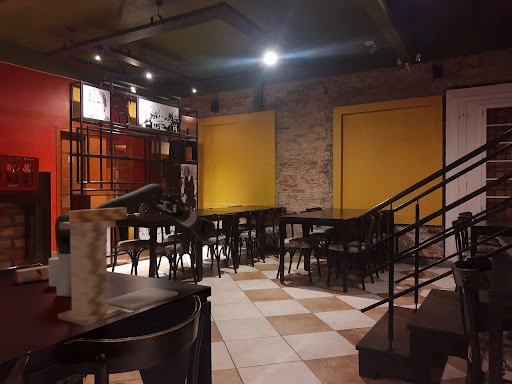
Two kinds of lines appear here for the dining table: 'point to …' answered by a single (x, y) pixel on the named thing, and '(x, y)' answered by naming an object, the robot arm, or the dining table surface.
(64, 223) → the stand
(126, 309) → the line
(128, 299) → the mat
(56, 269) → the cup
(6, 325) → the dining table surface
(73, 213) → the bar
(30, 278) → the snack package
